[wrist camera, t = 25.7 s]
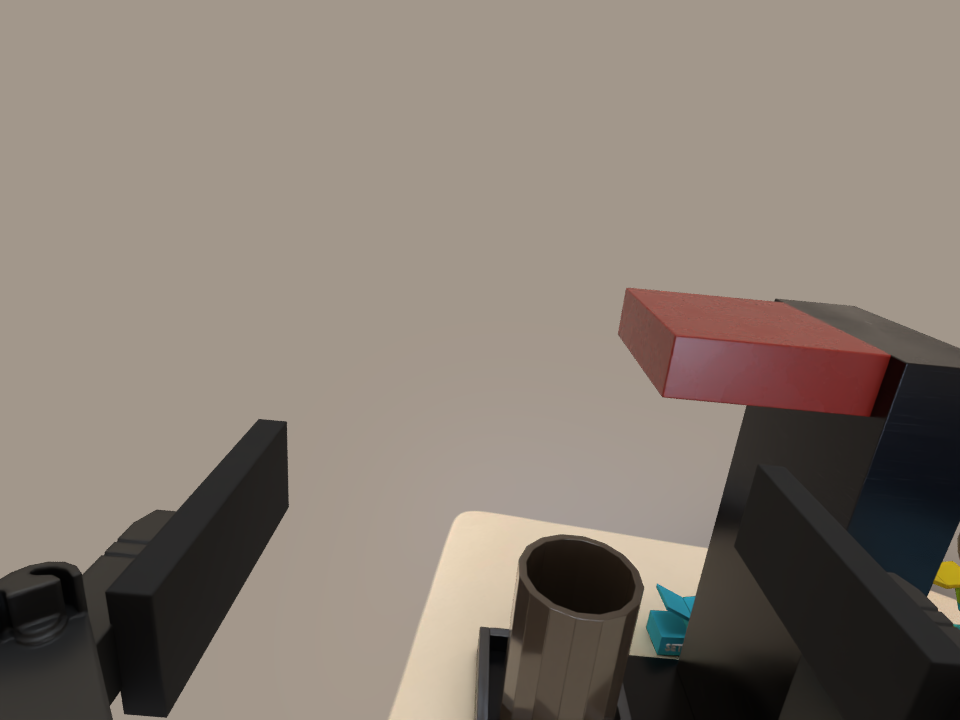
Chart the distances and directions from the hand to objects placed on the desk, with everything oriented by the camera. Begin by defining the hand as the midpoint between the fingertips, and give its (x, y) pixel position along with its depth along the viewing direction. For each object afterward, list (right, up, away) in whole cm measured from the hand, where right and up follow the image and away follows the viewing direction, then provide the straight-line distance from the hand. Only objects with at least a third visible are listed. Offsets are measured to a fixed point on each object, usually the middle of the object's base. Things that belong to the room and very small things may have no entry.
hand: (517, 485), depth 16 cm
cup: (+4, -22, +23) cm, 32 cm away
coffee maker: (+9, -23, +24) cm, 35 cm away
